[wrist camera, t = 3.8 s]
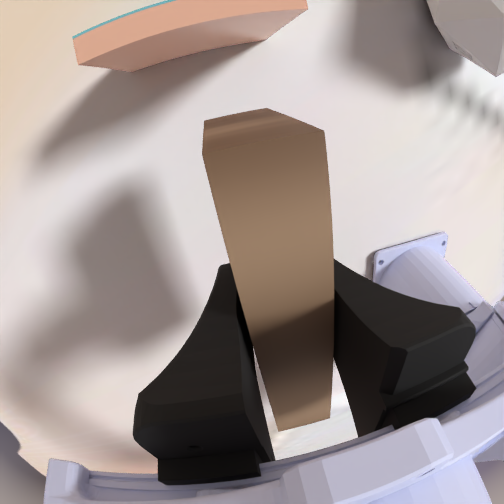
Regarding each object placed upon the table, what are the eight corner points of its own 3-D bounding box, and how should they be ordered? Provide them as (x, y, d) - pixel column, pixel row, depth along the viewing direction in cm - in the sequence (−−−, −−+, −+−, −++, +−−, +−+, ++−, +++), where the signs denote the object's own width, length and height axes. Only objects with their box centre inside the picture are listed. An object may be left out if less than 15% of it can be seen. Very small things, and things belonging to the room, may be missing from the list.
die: (395, 46, 15) (522, 118, 11) (393, -65, 7) (557, 0, 3) (437, 27, 17) (534, 82, 12) (439, -56, 9) (555, -3, 4)
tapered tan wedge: (298, 329, 17) (330, 417, 12) (257, 339, 17) (278, 431, 12) (267, 107, 10) (325, 130, 5) (203, 120, 10) (201, 154, 5)
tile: (265, 40, 14) (308, 8, 7) (131, 72, 14) (78, 65, 7) (261, 22, 14) (301, -19, 7) (127, 54, 13) (72, 36, 7)
